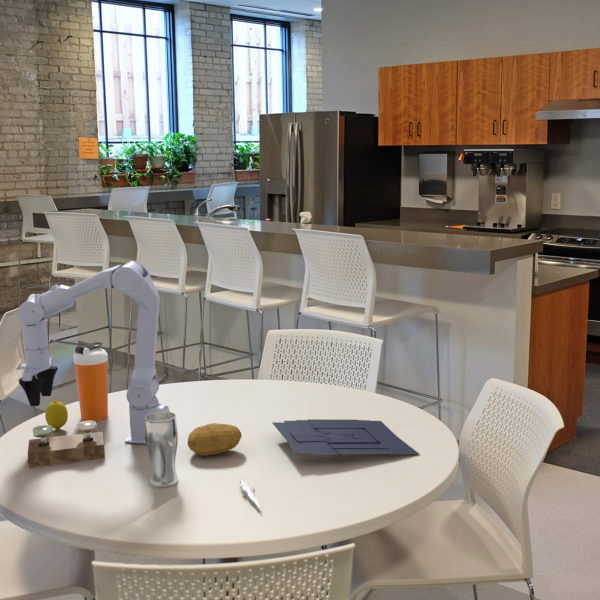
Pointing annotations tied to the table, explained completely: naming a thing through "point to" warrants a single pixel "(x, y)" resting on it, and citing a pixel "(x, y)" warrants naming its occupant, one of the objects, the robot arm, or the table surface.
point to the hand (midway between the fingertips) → (40, 400)
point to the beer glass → (161, 447)
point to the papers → (342, 437)
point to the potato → (213, 438)
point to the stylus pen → (249, 493)
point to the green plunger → (43, 433)
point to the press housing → (66, 450)
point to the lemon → (56, 414)
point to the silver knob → (87, 428)
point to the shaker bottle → (92, 381)
